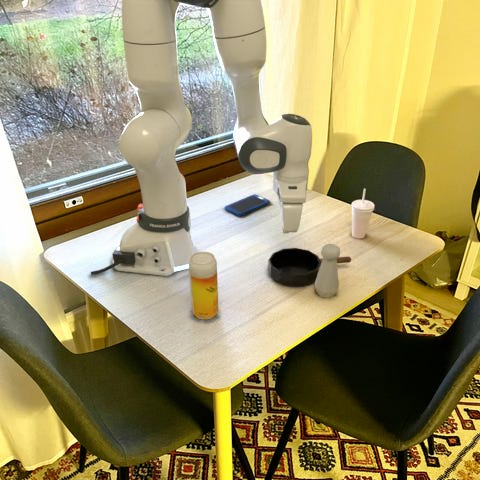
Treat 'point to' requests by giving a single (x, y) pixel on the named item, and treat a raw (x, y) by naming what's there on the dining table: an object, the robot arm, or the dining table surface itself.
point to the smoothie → (361, 216)
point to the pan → (296, 267)
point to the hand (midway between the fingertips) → (285, 230)
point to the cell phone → (247, 205)
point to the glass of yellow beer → (203, 285)
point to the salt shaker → (328, 272)
